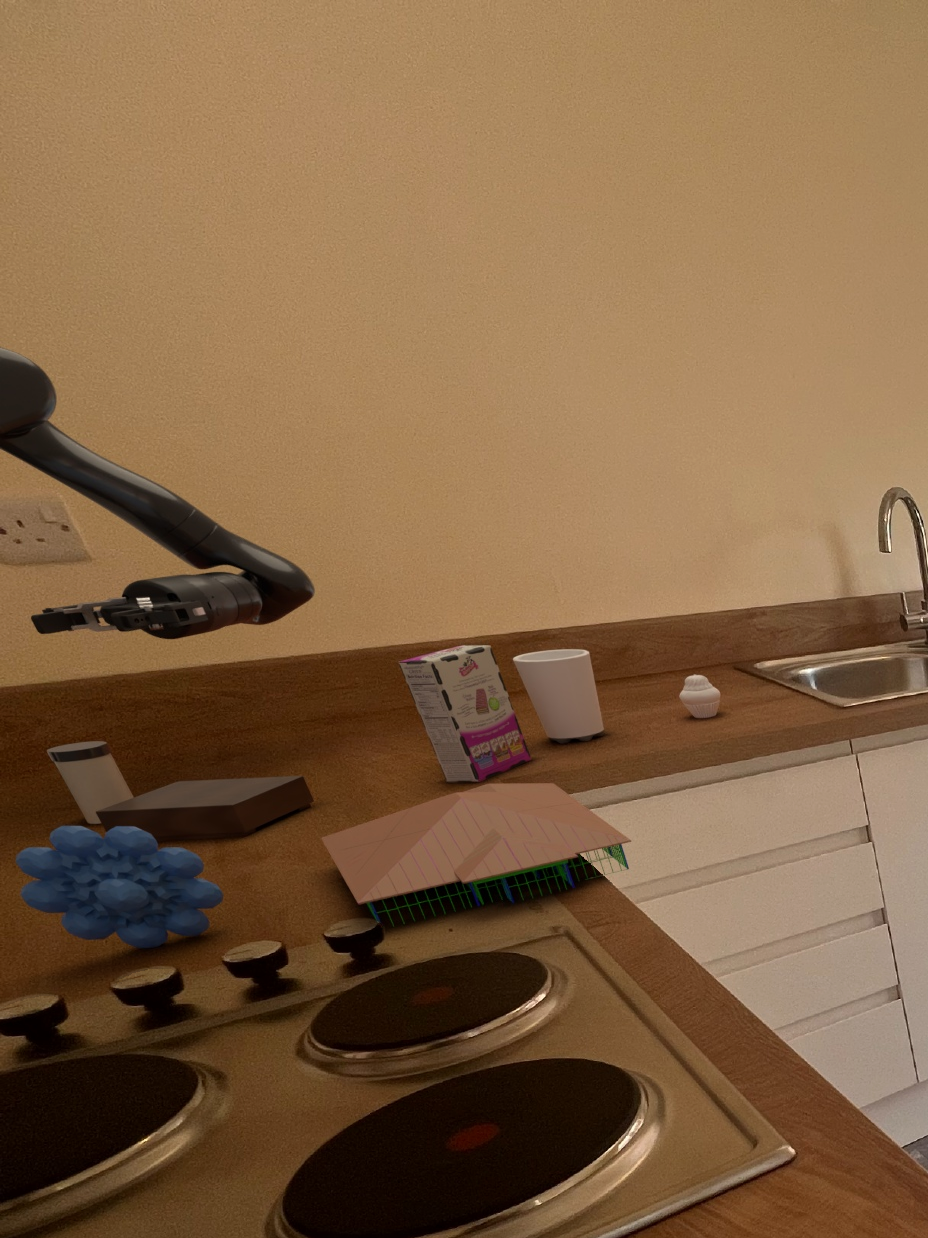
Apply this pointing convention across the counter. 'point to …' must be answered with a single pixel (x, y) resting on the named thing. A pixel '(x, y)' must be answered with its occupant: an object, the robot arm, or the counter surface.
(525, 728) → the counter surface
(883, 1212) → the counter surface
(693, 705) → the muffin
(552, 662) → the cup
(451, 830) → the house
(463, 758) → the candy bar box
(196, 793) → the platform
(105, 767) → the spice jar
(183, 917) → the blue flower
